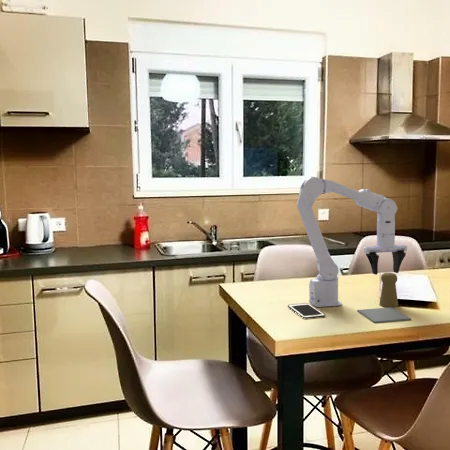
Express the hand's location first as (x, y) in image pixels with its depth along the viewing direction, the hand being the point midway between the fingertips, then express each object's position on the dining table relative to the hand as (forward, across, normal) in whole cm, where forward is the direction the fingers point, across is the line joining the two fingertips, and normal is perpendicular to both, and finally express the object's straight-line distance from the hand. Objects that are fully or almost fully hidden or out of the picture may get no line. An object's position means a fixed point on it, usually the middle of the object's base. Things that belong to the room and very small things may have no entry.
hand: (385, 273), depth 162 cm
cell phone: (+11, -29, -2) cm, 31 cm away
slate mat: (+10, -7, -12) cm, 18 cm away
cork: (+11, 0, -3) cm, 11 cm away
